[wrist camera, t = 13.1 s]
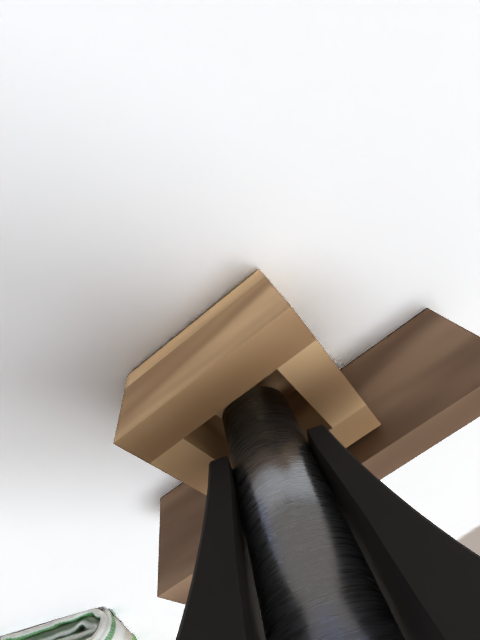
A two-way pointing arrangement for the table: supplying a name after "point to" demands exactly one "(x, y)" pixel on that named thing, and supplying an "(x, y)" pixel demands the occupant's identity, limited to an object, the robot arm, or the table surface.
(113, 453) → the table surface
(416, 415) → the wooden plank
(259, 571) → the dowel
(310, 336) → the block
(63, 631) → the dish towel
